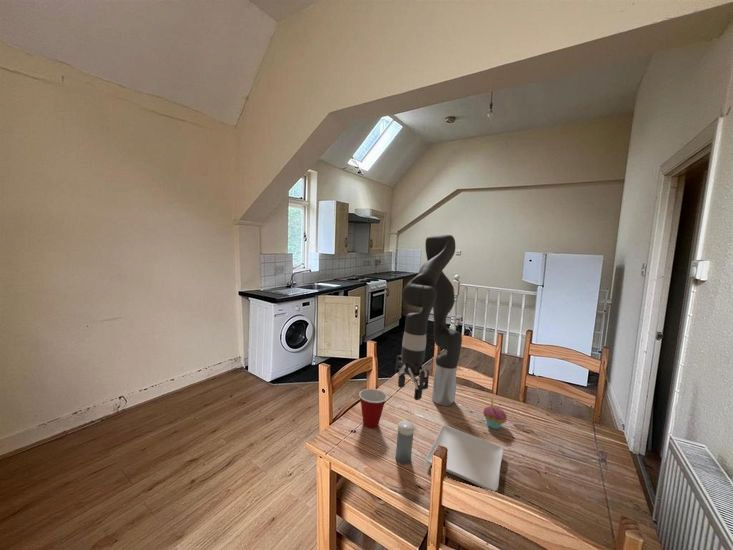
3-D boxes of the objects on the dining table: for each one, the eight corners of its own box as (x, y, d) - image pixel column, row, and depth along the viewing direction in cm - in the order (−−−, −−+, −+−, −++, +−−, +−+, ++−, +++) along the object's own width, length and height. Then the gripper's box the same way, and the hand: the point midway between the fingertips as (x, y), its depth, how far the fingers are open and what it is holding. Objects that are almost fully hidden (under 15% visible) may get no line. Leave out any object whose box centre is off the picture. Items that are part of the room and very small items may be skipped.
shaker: (404, 450, 100) (407, 419, 98) (414, 461, 95) (417, 428, 94) (392, 455, 97) (394, 423, 95) (401, 466, 92) (404, 432, 91)
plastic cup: (387, 418, 117) (389, 390, 115) (381, 435, 106) (384, 404, 105) (361, 412, 119) (363, 384, 118) (353, 428, 109) (355, 398, 108)
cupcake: (481, 428, 115) (485, 399, 113) (482, 416, 123) (485, 389, 121) (505, 434, 112) (510, 405, 110) (504, 422, 119) (508, 394, 118)
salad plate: (496, 501, 83) (497, 490, 82) (423, 468, 93) (424, 458, 92) (502, 455, 101) (504, 446, 101) (441, 432, 111) (442, 423, 111)
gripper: (438, 352, 91) (432, 401, 93) (409, 337, 103) (404, 381, 105) (419, 355, 87) (413, 406, 89) (391, 339, 99) (387, 384, 101)
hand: (408, 392), depth 97 cm, fingers open, 8 cm apart
